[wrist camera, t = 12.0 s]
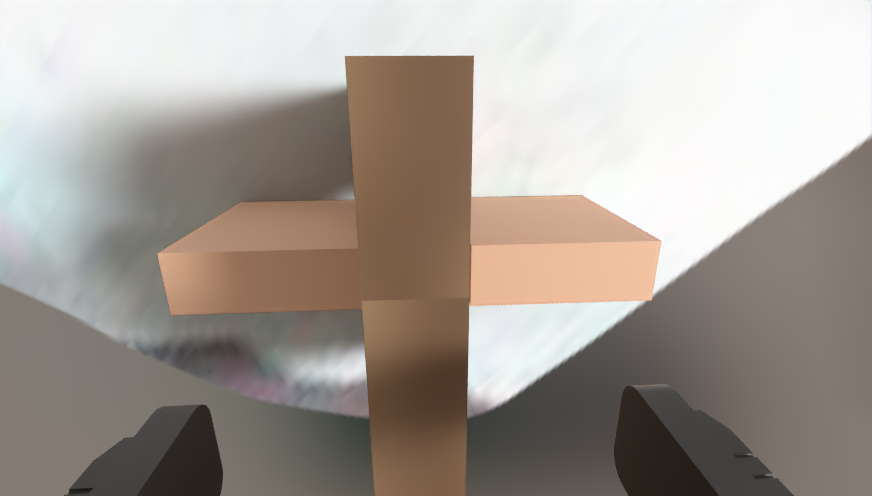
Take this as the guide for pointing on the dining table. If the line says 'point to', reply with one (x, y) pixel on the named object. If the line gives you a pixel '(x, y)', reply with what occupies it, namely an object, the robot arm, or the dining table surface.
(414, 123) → the upright wooden board
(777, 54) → the dining table surface
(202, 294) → the horizontal wooden crosspiece
